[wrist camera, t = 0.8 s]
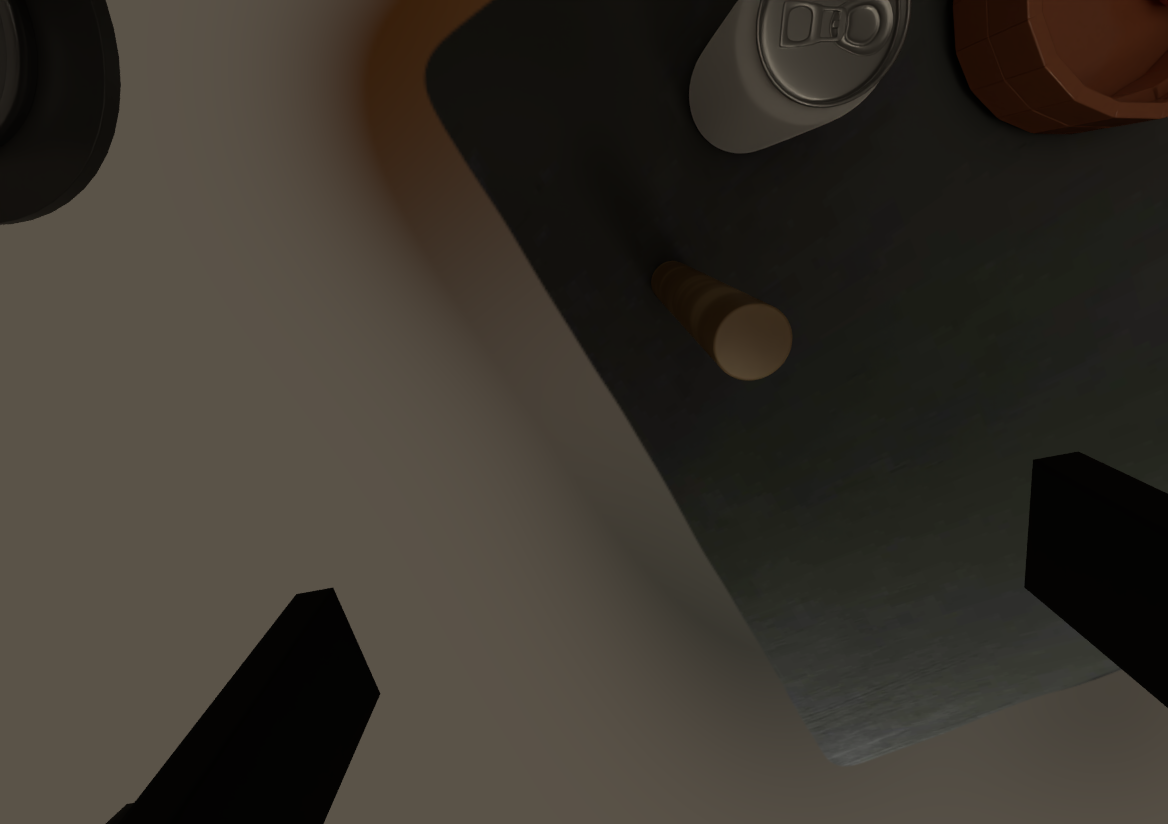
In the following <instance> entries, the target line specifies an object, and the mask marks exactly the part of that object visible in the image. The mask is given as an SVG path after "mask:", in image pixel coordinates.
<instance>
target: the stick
mask: <svg viewBox="0 0 1168 824" xmlns="http://www.w3.org/2000/svg"><path fill="white" fill-rule="evenodd" d="M651 286H652V290H653V292H654V294H655V295H656V296H657V298H658V299H659V300H660V301H661V302H662V303H663V304H664V305H665V307H666V308H667V309H668V310H669V311H670V312H671V313H672V314H673V315H674V317H675V318H676V319H677V320H678V321H679V322H680V323H681V324H682V325H683V327H684V328H685V329H686V330H687V331H688V332H689V333H690V334H691V335H692V337H693V338H694V339H695V340H696V341H697V342H698V343H699V344H700V346H701V347H702V348H703V349H704V350H705V351H706V352H707V353H708V354H709V356H710V357H711V358H712V359H713V360H714V361H715V362H716V363H717V364H718V366H719V367H720V368H721V369H722V370H723V371H724V372H725V373H727V374H728V375H730V376H732V377H734V378H736V379H740V380H757V379H761V378H764V377H766V376H768V375H770V374H772V373H773V372H775V371H776V370H777V369H778V368H779V367H780V366H781V365H782V364H783V363H784V361H785V360H786V358H787V356H788V354H789V352H790V349H791V345H792V330H791V327H790V324H789V322H788V320H787V318H786V317H785V315H784V314H783V313H782V312H781V311H779V310H778V309H777V308H775V307H773V306H771V305H769V304H767V303H765V302H763V301H761V300H759V299H756V298H754V297H752V296H750V295H748V294H746V293H744V292H742V291H740V290H737V289H735V288H733V287H731V286H729V285H727V284H725V283H723V282H721V281H718V280H716V279H714V278H712V277H710V276H708V275H706V274H704V273H701V272H699V271H697V270H695V269H693V268H691V267H689V266H687V265H685V264H682V263H680V262H677V261H668V262H665V263H663V264H661V265H660V266H659V267H658V268H657V269H656V270H655V272H654V273H653V276H652V280H651Z"/></svg>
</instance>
